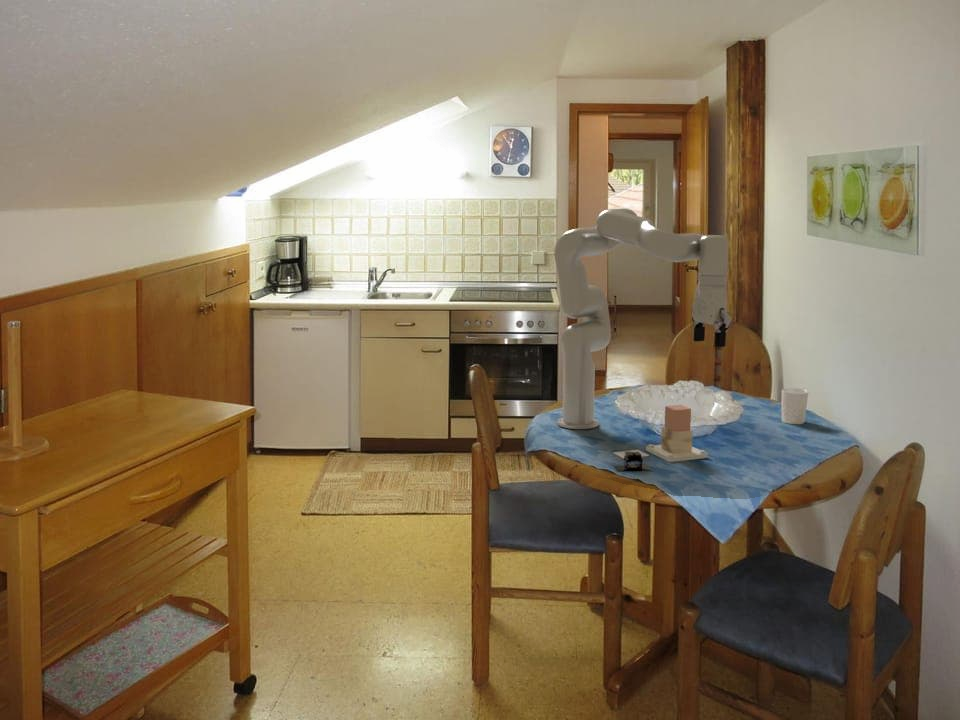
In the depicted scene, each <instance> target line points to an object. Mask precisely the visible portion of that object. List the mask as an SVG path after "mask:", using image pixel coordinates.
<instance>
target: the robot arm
mask: <svg viewBox="0 0 960 720" xmlns="http://www.w3.org/2000/svg"><path fill="white" fill-rule="evenodd" d="M621 244H625V245H628V246H631V247H634V248H637V249H640V250H641V252H644V253H645V254H647V255H650V256H653V257H655V258H659V259H662V260H664V261H668V262H673V263H682V262H683V263H684V262H692V261H698V269H697V270H698V273H697V274H698V275H697V285H696V287H695V293H694V298H693V304H692V307H693V308H691V309H690V314H691V320H692V325H693V342H704V341H705V339H706V338H705V334H706V326H704V325H705V324H706V325H709V326H710V325H713V326H714V328H715V332H714V339H713V341H714V343H713V344H714V348H724V347H726V341H727V340H726V339H727V333H728V330H729V328H730V325H731V322H732V316H731V315H730V314H729V313H728V293H727V292H728V291H727V284H728V283H727V282H728V281H727V279H728V261H729V260H728V259H729V239H728V237H727V236H726V235H723V234H722V235H721V234H718V235H717V234H702V233H696V232H691V233H690V232H689V233H673V232H669V231H665V230H663V229H659V228H657V227H655V224H654V222H653V221H652V220H651V219H649V218H646V217H642V216H639V215H637V213H636V212H634V210H632V209H629V208H610V209H605V210H603V211H601V213H599V214H598V216H597V218H596V220H595V227H578V228H573V229H570V230H568V231H566V232H564V233H563V234H562V235H560V237H559V238H558V239H557V241H556V243H555V246H554V251H553V252H554V261H555V266H556V272H557V277H558V287H559V295H560V301H561V302H560V303H561V309H562V312H563V314H564V316H565V317H567V318H568V319H582V322H575V323H572V324H570V325H568V326H567V327H566V328H564V329H563V331H562V334H561V337H560V344H561V345H560V346H561V351H562V359H563V360H562V362H563V375H562V376H563V377H562V379H563V380H562V381H563V383H562V388H563V389H562V408H561V409H560V411H561V412H562V417H560V418H558V419H557V425H558V426H559V427H562V428H565V429H569V430H570V429H572V430H590V429H591V430H592V429H595V428H597V427H599V424H600V423H599V422H600V421H599V420H598V419H596V418H594V414H595V383H596V382H595V378H596V371H595V370H596V368H595V361H594V359H593V356H592V353H593V352H598V351H601V350H604V349H605V348H606V347H608V345H609V344H610V342H611V338H612V337H611V336H612V330H611V328H612V327H611V319H610V312H609V311H610V310H609V303H608V299H607V296H606V294H605V292H604V291H603V290H602V288H600V287H599V286H597V285H592V284H590V285H589V284H588V275H587V270H586V268H585V265H584V264H583V262H582V260H581V259H582V258H584V257H595V256H602V255H604V254H606V253H608V252H610V251H611V250H613V249H614V248H616V247H618V246H619V245H621Z"/></svg>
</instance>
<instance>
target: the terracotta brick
mask: <svg viewBox="0 0 960 720" xmlns="http://www.w3.org/2000/svg"><path fill="white" fill-rule="evenodd" d="M664 407H665V408H664V425H663V427H665V428H667V429H669V430H671V431H673V432H678V431H687V430H690V429H691V423H692V422H691V419H692V418H691V417H692V408H690V407H688V406H685V405H683V404H676V405H675V404H674V405H665V406H664Z"/></svg>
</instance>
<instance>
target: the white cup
mask: <svg viewBox="0 0 960 720" xmlns="http://www.w3.org/2000/svg"><path fill="white" fill-rule="evenodd" d="M808 397H809V391H808V390H807V389H803V388H798V387H797V388H796V387H788V388H787V387H786V388H785V387H784V388H782V389H781V403H780V404H781V407H780V408H781V422H782V423H784V424H789V425H803V424H804V423H805V420H806V413H807V406H808Z"/></svg>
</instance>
